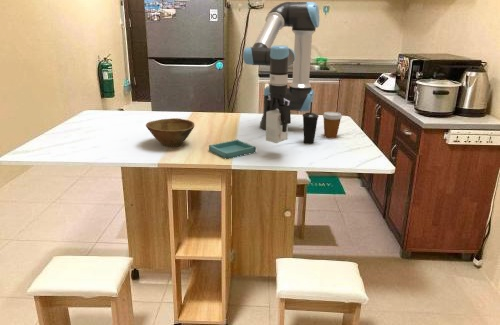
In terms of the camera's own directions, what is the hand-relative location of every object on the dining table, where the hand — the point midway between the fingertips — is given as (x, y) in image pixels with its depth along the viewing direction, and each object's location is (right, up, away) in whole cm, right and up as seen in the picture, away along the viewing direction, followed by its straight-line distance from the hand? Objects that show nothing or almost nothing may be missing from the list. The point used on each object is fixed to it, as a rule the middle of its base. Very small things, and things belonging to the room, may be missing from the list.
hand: (276, 136), depth 178 cm
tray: (-20, -6, +6) cm, 22 cm away
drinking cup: (+17, -2, +21) cm, 27 cm away
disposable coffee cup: (+30, +2, +32) cm, 44 cm away
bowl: (-49, -3, +15) cm, 52 cm away
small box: (0, -2, +1) cm, 2 cm away
